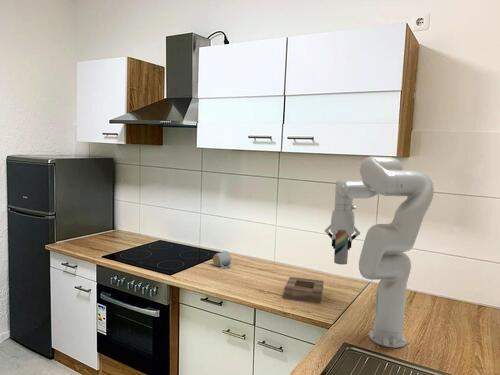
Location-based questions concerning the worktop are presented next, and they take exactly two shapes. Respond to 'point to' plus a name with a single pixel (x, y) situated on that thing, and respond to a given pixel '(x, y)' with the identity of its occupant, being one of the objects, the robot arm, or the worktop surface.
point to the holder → (304, 290)
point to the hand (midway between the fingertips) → (341, 248)
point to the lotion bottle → (341, 247)
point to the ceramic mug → (222, 259)
